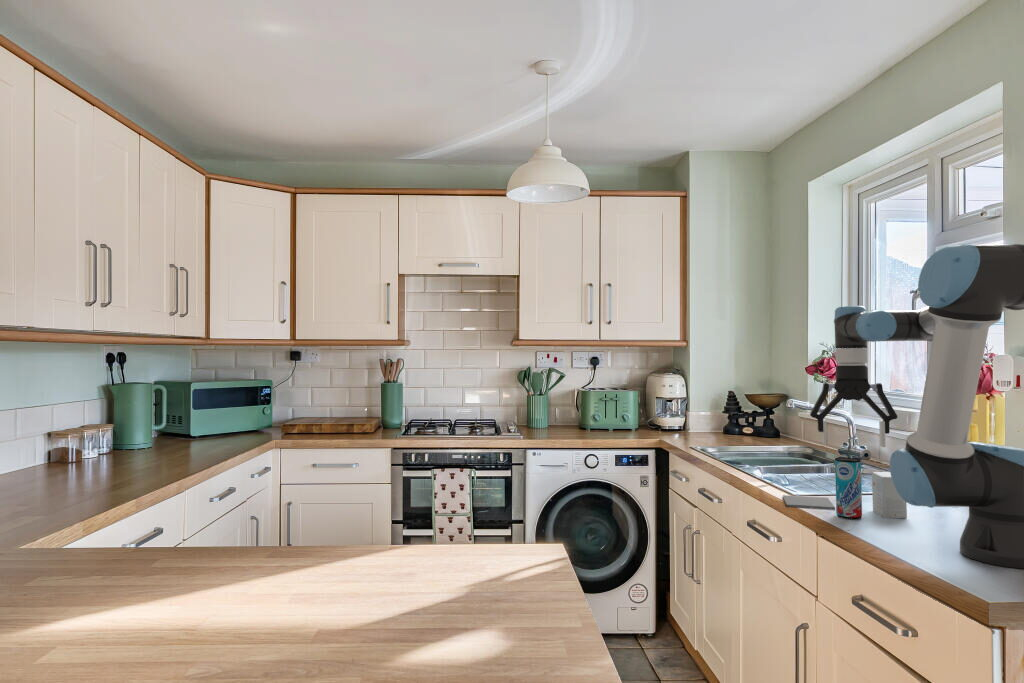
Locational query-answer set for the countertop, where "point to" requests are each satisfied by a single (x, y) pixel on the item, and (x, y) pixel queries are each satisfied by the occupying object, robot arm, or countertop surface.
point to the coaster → (808, 502)
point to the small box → (887, 497)
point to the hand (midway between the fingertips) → (853, 445)
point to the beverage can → (848, 488)
